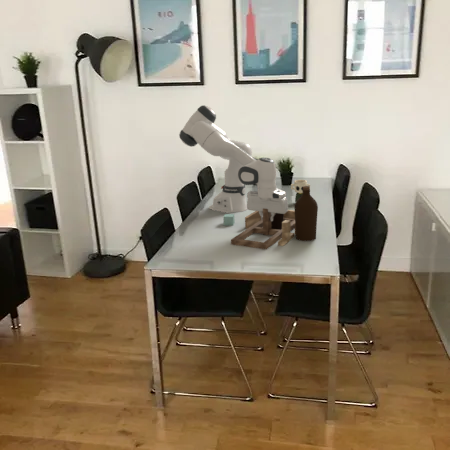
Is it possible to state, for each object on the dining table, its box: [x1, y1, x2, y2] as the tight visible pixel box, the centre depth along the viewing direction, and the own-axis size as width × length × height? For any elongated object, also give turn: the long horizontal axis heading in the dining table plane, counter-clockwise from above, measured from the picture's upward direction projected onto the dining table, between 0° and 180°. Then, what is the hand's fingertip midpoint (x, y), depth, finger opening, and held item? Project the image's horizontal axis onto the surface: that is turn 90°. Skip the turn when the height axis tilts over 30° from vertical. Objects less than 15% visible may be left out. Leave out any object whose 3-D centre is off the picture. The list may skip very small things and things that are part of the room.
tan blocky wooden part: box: [277, 220, 295, 247], centre depth 236 cm, size 3×14×10 cm, turn 151°
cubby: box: [244, 209, 296, 236], centre depth 259 cm, size 28×20×6 cm
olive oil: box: [294, 185, 319, 242], centre depth 237 cm, size 11×11×25 cm
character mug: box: [290, 179, 311, 203], centre depth 299 cm, size 11×7×13 cm, turn 80°
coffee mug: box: [271, 213, 284, 230], centre depth 256 cm, size 12×9×10 cm
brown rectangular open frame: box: [230, 208, 295, 250], centre depth 246 cm, size 18×41×13 cm, turn 151°
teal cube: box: [222, 213, 236, 226], centre depth 266 cm, size 5×5×5 cm
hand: (267, 220), depth 247 cm, fingers closed on brown rectangular open frame, 3 cm apart
